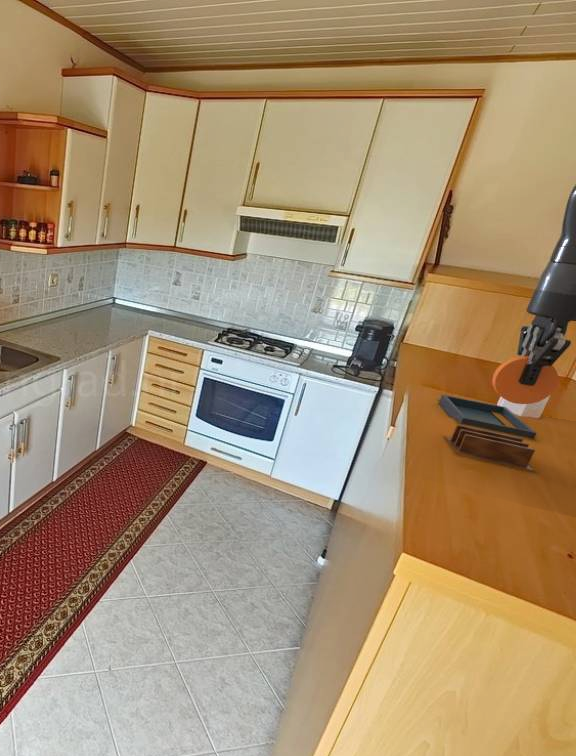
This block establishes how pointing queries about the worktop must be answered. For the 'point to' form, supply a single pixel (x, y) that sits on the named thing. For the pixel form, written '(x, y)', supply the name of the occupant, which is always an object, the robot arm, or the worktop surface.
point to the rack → (491, 446)
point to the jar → (525, 407)
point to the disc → (518, 393)
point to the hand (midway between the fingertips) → (523, 382)
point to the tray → (484, 416)
